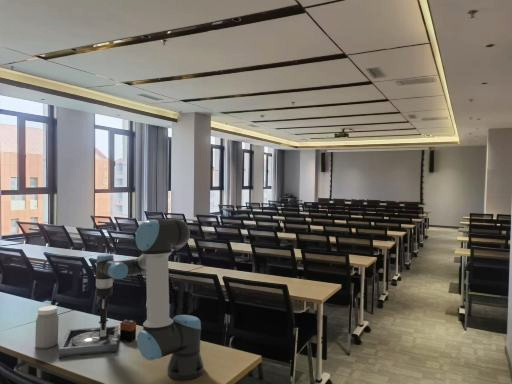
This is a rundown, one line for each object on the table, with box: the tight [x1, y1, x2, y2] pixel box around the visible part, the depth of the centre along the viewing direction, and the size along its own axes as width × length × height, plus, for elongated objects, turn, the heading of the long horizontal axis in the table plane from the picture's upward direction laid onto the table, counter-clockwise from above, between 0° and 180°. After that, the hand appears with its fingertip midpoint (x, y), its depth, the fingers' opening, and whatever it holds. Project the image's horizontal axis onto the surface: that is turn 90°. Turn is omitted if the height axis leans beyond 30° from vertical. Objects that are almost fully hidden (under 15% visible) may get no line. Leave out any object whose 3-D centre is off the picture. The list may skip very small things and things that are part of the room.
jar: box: [34, 305, 60, 350], centre depth 181 cm, size 10×10×18 cm
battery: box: [119, 319, 137, 343], centre depth 190 cm, size 4×7×10 cm, turn 68°
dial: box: [72, 326, 110, 347], centre depth 183 cm, size 17×17×8 cm
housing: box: [58, 325, 120, 359], centre depth 184 cm, size 24×25×4 cm
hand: (103, 335), depth 181 cm, fingers closed
